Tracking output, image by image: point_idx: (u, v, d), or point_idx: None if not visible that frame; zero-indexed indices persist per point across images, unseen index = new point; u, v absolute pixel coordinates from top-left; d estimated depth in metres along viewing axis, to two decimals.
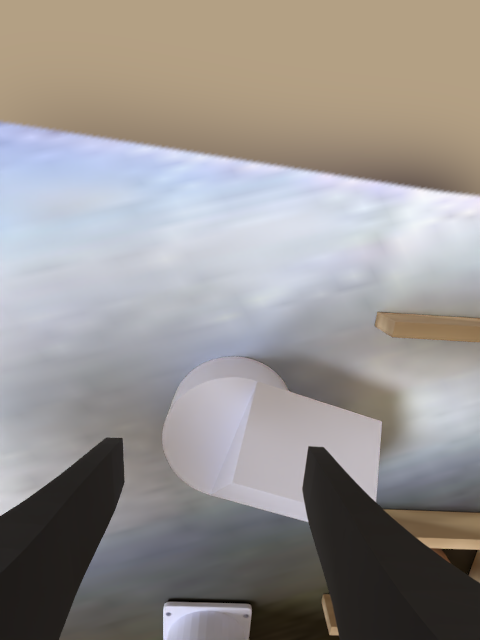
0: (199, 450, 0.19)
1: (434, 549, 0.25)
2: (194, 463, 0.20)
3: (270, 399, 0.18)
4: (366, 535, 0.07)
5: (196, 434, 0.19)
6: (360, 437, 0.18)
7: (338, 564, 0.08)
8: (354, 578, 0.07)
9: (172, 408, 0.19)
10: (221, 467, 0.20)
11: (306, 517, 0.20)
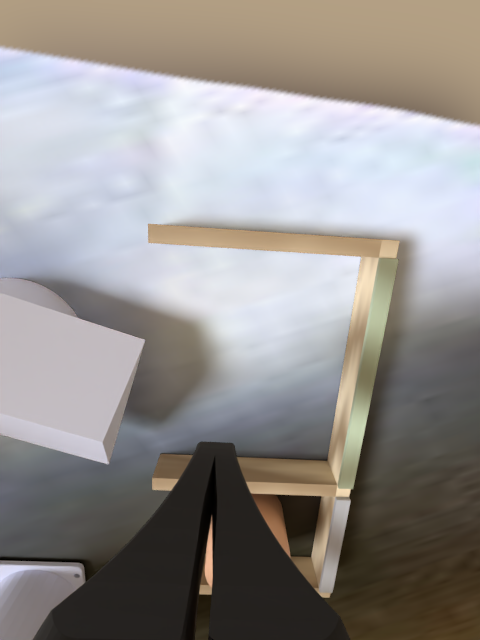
0: None
1: (261, 498, 0.23)
2: None
3: (4, 309, 0.16)
4: (219, 530, 0.07)
5: None
6: (111, 354, 0.16)
7: None
8: None
9: None
10: None
11: (72, 449, 0.18)
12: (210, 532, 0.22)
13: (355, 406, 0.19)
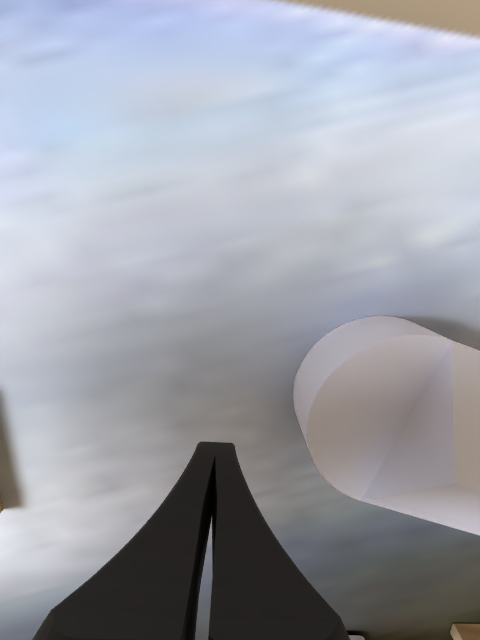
0: (355, 439, 0.14)
1: None
2: (346, 458, 0.14)
3: (473, 365, 0.13)
4: (219, 530, 0.07)
5: (356, 417, 0.14)
6: None
7: None
8: None
9: (327, 380, 0.13)
10: (382, 463, 0.14)
11: None
12: None
13: None
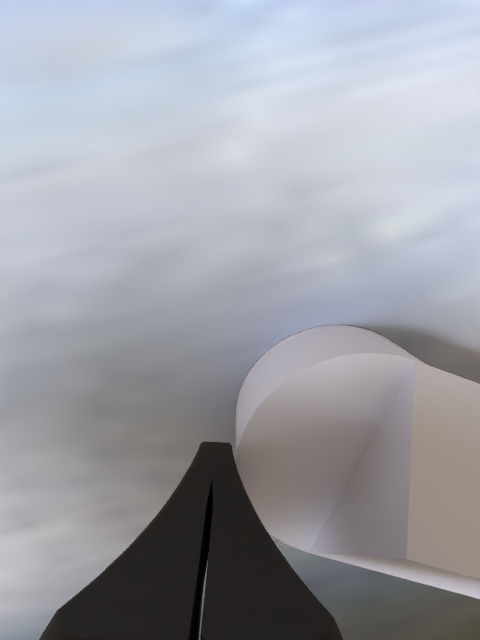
0: (298, 480, 0.11)
1: None
2: (287, 502, 0.12)
3: (441, 392, 0.10)
4: (214, 530, 0.07)
5: (297, 454, 0.11)
6: None
7: None
8: None
9: (258, 408, 0.10)
10: (332, 509, 0.12)
11: (474, 593, 0.12)
12: None
13: None
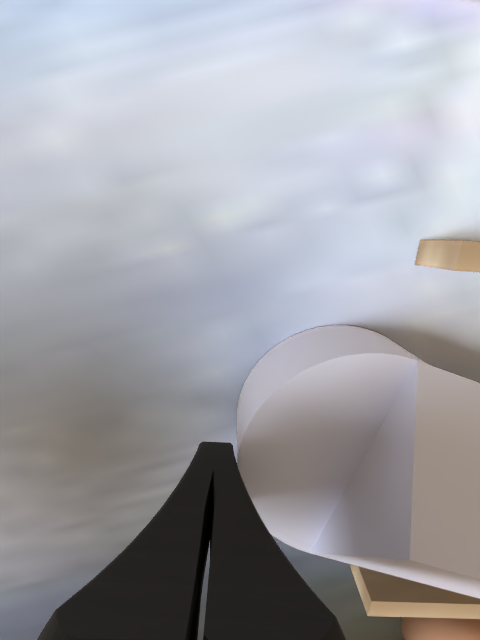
0: (299, 480, 0.11)
1: None
2: (289, 502, 0.12)
3: (444, 393, 0.10)
4: (216, 530, 0.07)
5: (298, 454, 0.11)
6: None
7: None
8: None
9: (260, 409, 0.10)
10: (334, 509, 0.12)
11: (475, 593, 0.12)
12: None
13: None
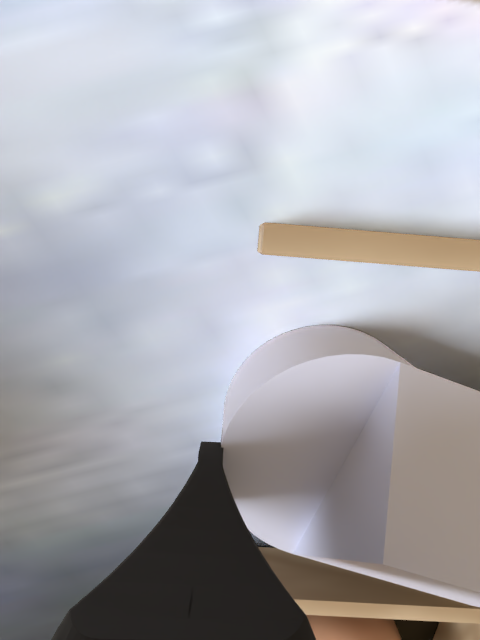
0: (281, 481, 0.11)
1: None
2: (271, 503, 0.11)
3: (426, 395, 0.10)
4: (195, 529, 0.07)
5: (280, 454, 0.11)
6: None
7: None
8: None
9: (241, 408, 0.10)
10: (317, 510, 0.11)
11: (460, 599, 0.12)
12: None
13: None
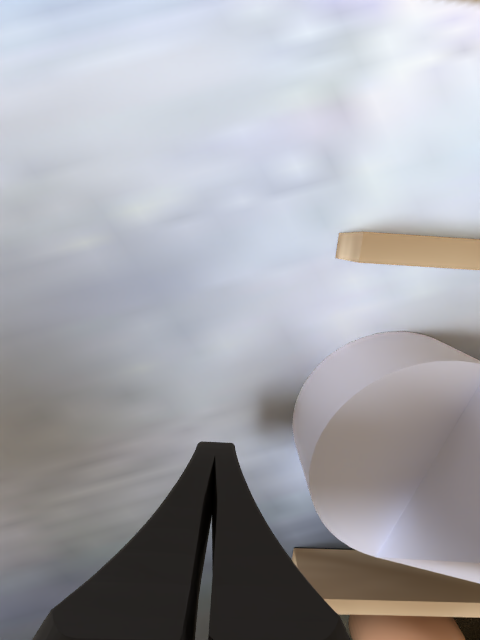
0: (369, 486, 0.11)
1: None
2: (357, 508, 0.12)
3: None
4: (219, 530, 0.07)
5: (369, 460, 0.11)
6: None
7: None
8: None
9: (334, 417, 0.11)
10: (402, 514, 0.12)
11: None
12: None
13: None
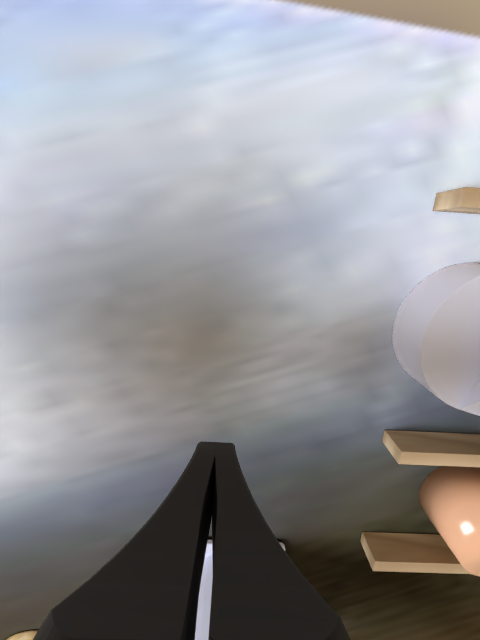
0: (459, 355, 0.18)
1: None
2: (450, 371, 0.18)
3: None
4: (219, 530, 0.07)
5: (461, 337, 0.17)
6: None
7: None
8: None
9: (441, 306, 0.17)
10: (479, 375, 0.18)
11: None
12: (448, 508, 0.22)
13: None
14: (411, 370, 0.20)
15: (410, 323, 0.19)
